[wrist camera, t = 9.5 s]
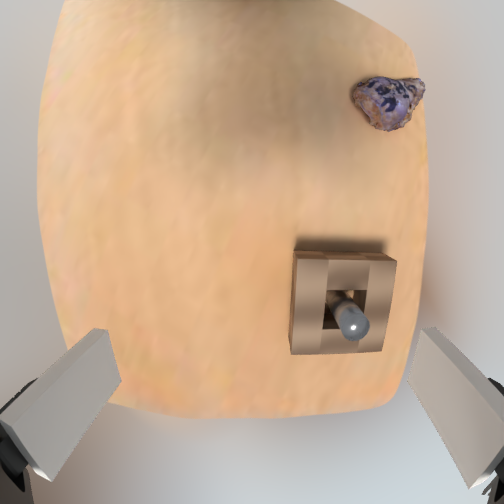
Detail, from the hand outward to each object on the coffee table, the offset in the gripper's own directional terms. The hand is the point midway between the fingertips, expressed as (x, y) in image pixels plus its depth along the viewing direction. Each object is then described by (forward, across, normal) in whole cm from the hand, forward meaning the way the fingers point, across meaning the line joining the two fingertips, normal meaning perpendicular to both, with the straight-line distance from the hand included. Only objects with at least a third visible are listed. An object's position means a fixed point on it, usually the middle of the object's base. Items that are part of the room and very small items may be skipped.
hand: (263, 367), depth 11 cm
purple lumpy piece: (+27, +17, +19) cm, 37 cm away
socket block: (+26, +9, -7) cm, 29 cm away
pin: (+26, +9, -7) cm, 29 cm away
